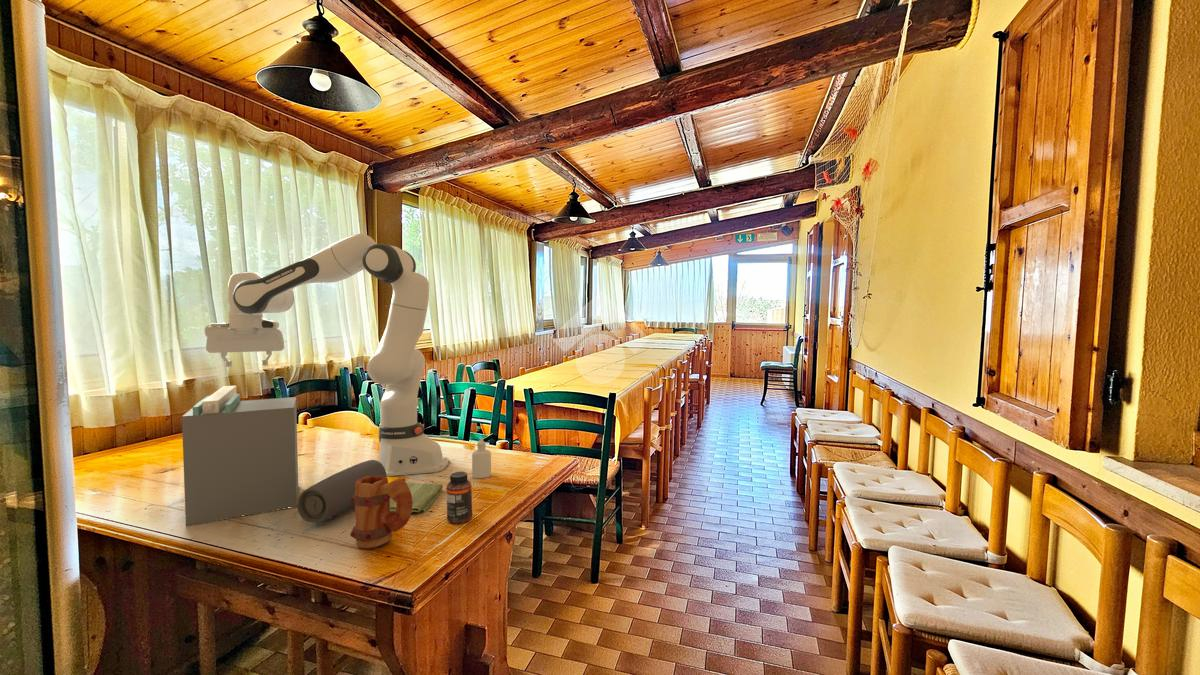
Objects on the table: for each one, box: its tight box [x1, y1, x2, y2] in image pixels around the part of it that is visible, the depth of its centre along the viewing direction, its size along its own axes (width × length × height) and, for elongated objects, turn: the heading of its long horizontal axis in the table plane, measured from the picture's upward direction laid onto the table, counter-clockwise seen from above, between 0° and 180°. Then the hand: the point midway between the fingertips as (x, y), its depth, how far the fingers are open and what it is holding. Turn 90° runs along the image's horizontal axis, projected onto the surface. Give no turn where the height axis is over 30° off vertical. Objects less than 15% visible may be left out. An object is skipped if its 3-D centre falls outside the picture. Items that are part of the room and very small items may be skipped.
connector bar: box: [202, 385, 238, 414], centre depth 126 cm, size 31×3×3 cm, turn 30°
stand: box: [181, 393, 299, 527], centre depth 125 cm, size 18×22×28 cm
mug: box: [349, 476, 413, 549], centre depth 103 cm, size 15×8×15 cm, turn 69°
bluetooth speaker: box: [296, 459, 388, 524], centre depth 123 cm, size 23×9×10 cm, turn 171°
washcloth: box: [390, 481, 444, 514], centre depth 128 cm, size 13×18×3 cm
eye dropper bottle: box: [471, 437, 492, 479], centre depth 148 cm, size 4×6×12 cm
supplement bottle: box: [445, 470, 473, 524], centre depth 117 cm, size 6×6×11 cm
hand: (247, 366), depth 154 cm, fingers open, 8 cm apart
